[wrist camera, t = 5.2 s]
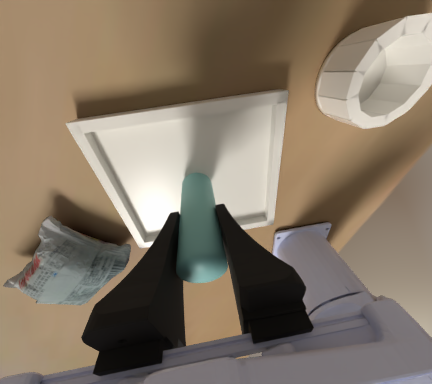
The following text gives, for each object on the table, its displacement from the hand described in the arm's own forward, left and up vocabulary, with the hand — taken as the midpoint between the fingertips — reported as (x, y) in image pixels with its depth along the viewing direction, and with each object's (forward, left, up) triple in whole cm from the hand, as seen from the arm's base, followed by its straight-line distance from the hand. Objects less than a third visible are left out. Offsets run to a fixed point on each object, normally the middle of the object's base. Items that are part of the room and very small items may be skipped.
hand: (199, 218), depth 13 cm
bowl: (+7, -14, -6) cm, 17 cm away
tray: (0, 0, -6) cm, 6 cm away
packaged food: (-7, +16, -6) cm, 19 cm away
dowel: (0, 0, -4) cm, 4 cm away
